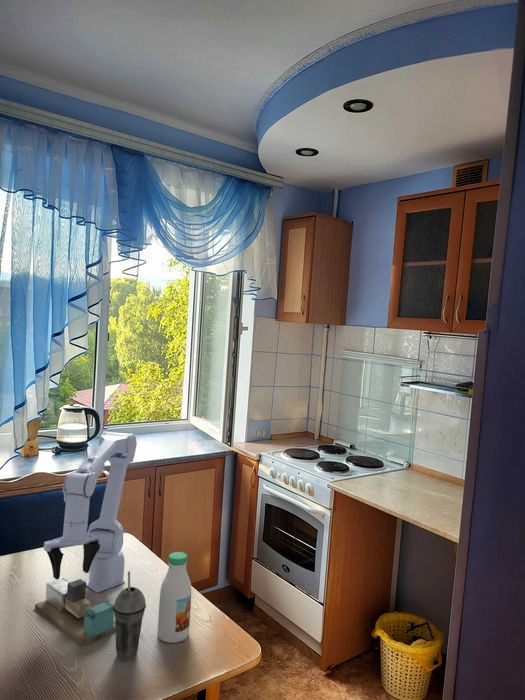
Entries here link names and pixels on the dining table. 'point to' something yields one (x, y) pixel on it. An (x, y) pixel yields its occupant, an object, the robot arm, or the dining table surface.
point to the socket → (98, 619)
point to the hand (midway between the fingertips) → (71, 574)
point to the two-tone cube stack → (76, 598)
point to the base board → (70, 623)
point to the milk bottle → (175, 601)
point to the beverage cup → (128, 621)
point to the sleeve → (57, 594)
